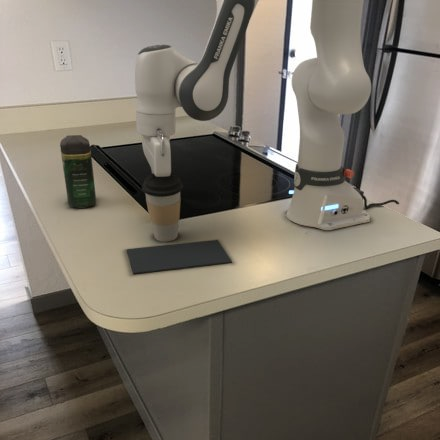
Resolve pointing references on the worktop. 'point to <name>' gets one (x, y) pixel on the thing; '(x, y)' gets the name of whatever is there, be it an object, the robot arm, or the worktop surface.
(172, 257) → the mat
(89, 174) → the coffee jar
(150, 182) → the coffee cup
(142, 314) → the worktop surface
